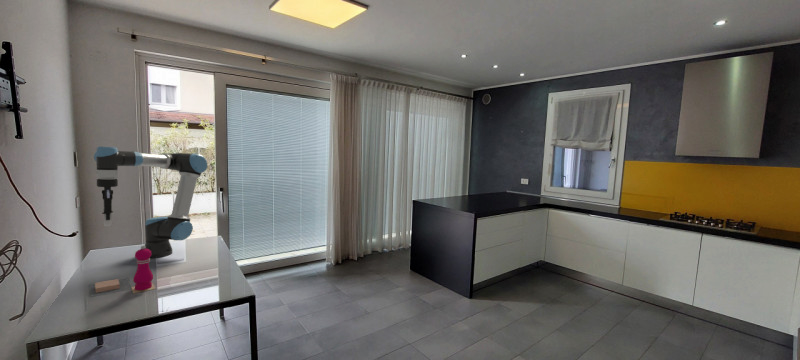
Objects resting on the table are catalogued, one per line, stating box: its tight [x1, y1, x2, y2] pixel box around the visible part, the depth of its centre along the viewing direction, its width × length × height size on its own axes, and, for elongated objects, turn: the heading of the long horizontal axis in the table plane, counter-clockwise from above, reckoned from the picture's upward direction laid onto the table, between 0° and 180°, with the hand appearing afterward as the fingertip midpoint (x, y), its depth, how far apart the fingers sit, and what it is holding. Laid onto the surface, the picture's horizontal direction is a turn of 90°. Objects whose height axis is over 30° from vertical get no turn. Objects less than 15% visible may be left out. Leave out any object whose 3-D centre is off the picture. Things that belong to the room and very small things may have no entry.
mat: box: [88, 277, 132, 298], centre depth 149 cm, size 14×17×1 cm
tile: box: [94, 278, 120, 293], centre depth 148 cm, size 8×2×8 cm
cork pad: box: [131, 282, 156, 294], centre depth 149 cm, size 8×8×1 cm
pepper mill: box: [132, 245, 154, 290], centre depth 149 cm, size 7×7×20 cm
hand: (107, 226), depth 157 cm, fingers closed
